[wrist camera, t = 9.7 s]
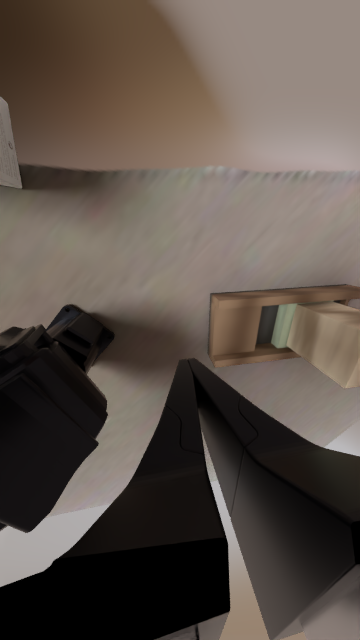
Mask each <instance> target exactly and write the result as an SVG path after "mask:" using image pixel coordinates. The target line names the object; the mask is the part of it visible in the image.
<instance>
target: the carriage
mask: <svg viewBox="0 0 360 640" xmlns="http://www.w3.org/2000/svg"><path fill="white" fill-rule="evenodd" d="M286 346H288V347H289V348H291V349H292V350H293V351H295V352H296V353H297V354H299V355H300V356H301V357H303V358H304V359H305V360H307V361H308V362H309V363H311V364H312V365H313V366H315V367H316V368H317V369H319V370H320V371H322V372H323V373H324V374H326V375H327V376H328V377H330V378H331V379H332V380H334V381H335V382H336V383H338V384H339V385H340V386H342V387H343V388H344V389H346V388H353V387H359V386H360V310H358V309H355V308H352V307H348V306H345V305H342V304H339V303H336V302H332V301H330V302H318V303H305V304H297V305H296V309H295V313H294V317H293V321H292V325H291V328H290V332H289V336H288V340H287V344H286Z"/></svg>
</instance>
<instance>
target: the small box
mask: <svg viewBox="0 0 360 640" xmlns="http://www.w3.org/2000/svg"><path fill="white" fill-rule="evenodd" d="M0 185H4V186H10V187H15V188H19V189H22V183H21V177H20V171H19V166H18V160H17V154H16V149H15V144H14V138H13V132H12V126H11V120H10V115H9V109H8V104H7V102H6V101H5V100H4V99H3V98H1V97H0Z"/></svg>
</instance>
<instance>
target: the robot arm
mask: <svg viewBox="0 0 360 640" xmlns="http://www.w3.org/2000/svg"><path fill="white" fill-rule="evenodd" d="M66 308H69V309H70V311H68V310H67V309H66ZM109 335H111V336H112V337H109ZM114 337H115V334H114V333H113V332H111V331H110V330H108V329H107V328H105V327H104V326H103V325H102V324H101V323H99V322H98V321H96V320H95V319H93V318H92V317H90V316H89V315H87V314H86V313H82V312H80V311H79V310H77V309H76V308H74V307H73V306H71V305H65V306H64V307H63V308H62V309H61V310H60V312H59V313H58V314H57V316H56V317H55V318H54V320H53V321H52V322H51V324H50V325H49V326H48V328H47V329H45V328H44V326H43V325H42V324H40V325H38V326H36V327H34V326H32V327H30V328H27V329H26V328H25V329H22V328H18V327H11V328H9V329H7V330H5V331H3V332H2V333H0V531H1V530H3V529H4V528H5V527H7V526H11V527H13V528H15V529H18V530H20V531H23V532H25V533H28V532H30V531H32V530H33V529H34V528H35V527H36V526H37V525H38V524H39V523H40V522H41V521H42V520H43V519H44V518H45V517H46V516H47V515H48V514H49V513H50V512H51V510H52V509H53V507H54V506H55V504H56V502H57V501H58V499H59V497H60V496H61V494H62V492H63V490H64V489H65V487H66V485H67V484H68V482H69V481H70V479H71V477H72V476H73V474H74V473H75V471H76V470H77V469H78V468H79V466H80V465H81V464H82V462H83V461H84V460H85V459H86V458H87V457H88V456H89V455H90V454H91V453H92V452H93V451H94V450H95V449H96V447H97V446H98V444H99V443H98V442H97V441H96V440H95V439H96V438H97V436H98V434H99V433H100V431H101V429H102V428H103V426H104V424H105V421H106V419H107V416H108V413H107V412H106V409H107V400H106V397H105V395H104V394H103V393H102V392H101V391H100V390H99V388H98V387H97V386H96V385H95V384H94V383H93V382H92V380H91V379H90V378H89V377H88V376H87V373H88V372H89V370H90V368H91V366H92V364H93V362H94V361H95V360H96V359H97V357H98V356H99V355H100V354H101V353H102V352H103V351H104V349H105V348H106V347H107V346H108V345H109V344H110V343H111V341H112V340H113V339H114ZM201 429H202V432H203V435H204V438H205V441H206V444H207V447H208V450H209V453H210V457H211V460H212V463H213V466H214V469H215V472H216V475H217V478H218V481H219V484H220V487H221V491H222V493H223V497H224V500H225V503H226V506H227V509H228V512H229V515H230V517H231V522H232V525H233V528H234V531H235V534H236V537H237V540H238V543H239V546H240V550H241V553H242V555H243V559H244V562H245V565H246V568H247V571H248V574H249V577H250V580H251V583H252V587H253V589H254V593H255V596H256V599H257V602H258V605H259V608H260V611H261V614H262V618H263V621H264V623H265V626H266V629H267V633H268V636H269V639H270V640H279V639H281V638H285V637H288V636H291V635H294V634H297V633H300V632H303V631H304V633H305V636H306V639H307V640H360V457H359V456H355V455H351V454H346V453H342V452H337V451H334V450H329V449H326V448H323V447H320V446H318V445H315V444H313V443H311V442H309V441H308V440H306V439H304V438H303V437H301V436H300V435H298V434H297V433H295V432H294V431H292V430H290V429H289V428H287V427H286V426H284V425H283V424H281V423H280V422H278V421H277V420H275V419H274V418H272V417H271V416H269V415H268V414H266V413H265V412H264V411H262V410H261V409H259V408H258V407H256V406H255V405H254V404H252V403H251V402H250V401H248V400H247V399H246V398H245V397H243V396H242V395H241V394H240V393H238V392H237V391H236V390H234V389H233V388H232V387H231V386H229V385H228V384H227V383H226V382H224V381H223V380H222V379H221V378H219V377H218V376H217V375H216V374H214V373H213V372H212V371H211V370H209V369H208V368H207V367H205V366H204V365H203V364H202V363H200V362H199V361H198V360H197V359H195V358H191V359H188V360H187V359H182V360H179V363H178V366H177V369H176V372H175V375H174V379H173V382H172V385H171V388H170V391H169V394H168V397H167V400H166V403H165V407H164V409H163V412H162V415H161V418H160V421H159V423H158V426H157V428H156V430H155V432H154V435H153V437H152V439H151V441H150V443H149V445H148V447H147V449H146V451H145V453H144V455H143V457H142V460H141V462H140V464H139V466H138V468H137V470H136V472H135V474H134V475H133V477H132V479H131V480H130V482H129V484H128V485H127V486H126V488H125V489H124V490H123V491H122V493H121V494H120V495H119V496H118V497H117V498H116V499H115V500H114V502H113V503H112V504H111V505H110V506H109V507H108V508H107V509H106V511H105V512H104V513H103V514H102V515H101V516H100V517H99V518H98V520H97V521H96V522H95V523H94V524H93V525H92V526H91V527H90V529H89V530H88V531H87V532H86V533H85V534H84V535H83V536H82V538H81V539H80V540H79V541H78V542H77V543H76V544H75V545H74V546H73V547H72V548H71V549H70V550H69V551H67V552H66V553H64V554H63V555H62V556H60V557H59V558H57V559H56V560H54V561H53V563H52V565H51V566H50V567H48V568H47V569H46V570H45V571H43V572H40V573H37V574H35V575H32V576H29V577H27V578H24V579H21V580H18V581H16V582H13V583H10V584H7V585H5V586H2V587H0V640H219V638H220V636H221V633H222V630H223V628H224V625H225V622H226V619H227V617H228V614H229V611H230V591H229V590H230V589H229V562H228V542H227V538H226V535H225V531H224V528H223V525H222V521H221V518H220V514H219V511H218V507H217V504H216V501H215V497H214V493H213V490H212V487H211V483H210V480H209V476H208V472H207V467H206V461H205V454H204V447H203V440H202V433H201Z"/></svg>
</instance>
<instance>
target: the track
mask: <svg viewBox="0 0 360 640" xmlns="http://www.w3.org/2000/svg"><path fill="white" fill-rule="evenodd" d="M358 298H360V287H356V286H351V285H346V284H345V285H330V286H315V287H300V288H285V289H270V290H256V291H241V292H226V293H211V294H210V315H209V338H208V355H209V357H210V359H211V361H212V363H213V364H214V366H215V367H223V366H231V365H240V364H248V363H256V362H264V361H272V360H281V359H289V358H297V357H301V356H300V355H299V354H297V353H296V352H295V351H293V350H292V349H291V348H289V347H288V346H286V344H287V340H288V336H289V332H290V328H291V325H292V321H293V317H294V313H295V309H296V305H297V304H305V303H318V302H330V301H332V302H336V303H339V304H342V305H345V306H347V305H348V302H349V300H350V299H358Z"/></svg>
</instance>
